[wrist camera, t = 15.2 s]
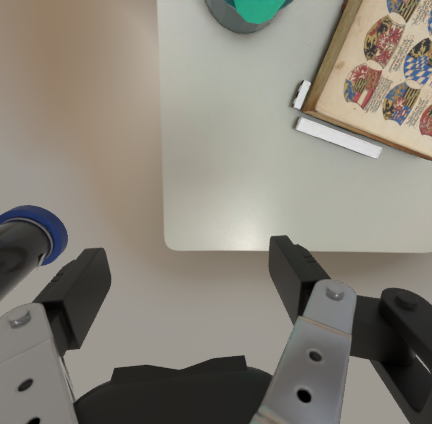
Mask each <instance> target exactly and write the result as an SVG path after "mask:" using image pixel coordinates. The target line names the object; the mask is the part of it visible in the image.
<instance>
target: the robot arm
mask: <svg viewBox="0 0 432 424" xmlns="http://www.w3.org/2000/svg"><path fill="white" fill-rule="evenodd" d="M54 245H55V242H54V238H53V235H52V233H51V232H50V230H49V229H48V228H47V227H46V226H45V225H44V224H42V223H41V222H39V221H37V220H35V219H32V218H29V217H13V218H11V219H8V220H7V221H5V222H3V223H2V224H1V225H0V301H2V300H3V299H4V297H6V296H7V295H8V294H9V293H10V292H11V291H12V290H13V289H14V288H15V287H16V286H17V285H18V284H19V283H20V282H22V281H23V280H24V279H25V278H26V277H27V276H28V275H29V274H30V273H31V272H32V271H33V270H34V269H35V268H36V267H37V266H38V267H37V269H38V268H39V267H40V266H41V264H42V262H43V261H44V260H45V259H46V258H48V257H49V256H50V255H51V253H52V252H53V250H54ZM269 272H270V276H271V278H272V280H273V282H274V284H275V287H276V289H277V291H278V293H279V295H280V297H281V300H282V302H283V304H284V306H285V308H286V310H287V312H288V314H289V317H290V319H291V321H292V323H293V325H294V327H293V330H292V332H291V335H290V337H289V340H288V342H287V344H286V347H285V349H284V351H283V354H282V356H281V359H280V361H279V363H278V366H277V368H276V370H275V373H274V375H273V376H272V375H270V374H269V373H267V372H264V371H262V370H260V369H256V368H253V367H247V365H246V361H245V356H244V355H243V356H232V357H222V358H213V359H210V360H207V361H204V362H202V363H199V364H196V365H194V366H190V367H187V368H185V369H181V370H176V369H170V368H164V367H157V366H151V365H140V366H130V367H120V368H114V371H113V375H112V378H111V380H110V381H108V382H105V383H103V384H101V385H99V386H97V387H95V388H94V389H92V390H90V391H89V392H87V393H86V394H84V395H83V396H81V397H80V398H79V399H78V400H77V397H76V394H75V391H74V388H73V384H72V382H71V378H70V376H69V372H68V369H67V366H66V363H65V360H64V358H63V356H64V354H65V352H66V351H67V350H74V349H80V347H81V345H82V343H83V341H84V339H85V337H86V335H87V333H88V331H89V329H90V327H91V325H92V323H93V321H94V319H95V317H96V315H97V313H98V311H99V309H100V307H101V305H102V303H103V301H104V299H105V297H106V295H107V293H108V291H109V289H110V286H111V273H110V269H109V265H108V261H107V256H106V252H105V250H104V248H89V249H85V250H84V251H83V252H82V253H81V254H80V255H79V257H78V258H77V259H76V260H73V261H71V262H70V263H68V264H67V265H65V266H64V267H62V269H61V270H60V271H59V272H58V273H57V274H56V276H55V277H54V278H53V279H52V280H51V282H50V283H48V285H47V286H46V287H45V288H44V289H43V290H42V291H41V293H40V294H39V295H38V296H37V297H36V298H35V300H34V301H33V302H32V303H29V304H24V305H21V306H18V307H16V308H14V309H12V310H10V311H8V312H7V313H5V314H4V315H3V316H1V317H0V424H340V417H341V411H342V404H343V397H344V390H345V383H346V376H347V369H348V362H349V356H355V357H359V358H364V359H369V360H370V362H371V363H372V365H373V367H374V368H375V370H376V371H377V373H378V374H379V376H380V377H381V379H382V381H383V382H384V384H385V385H386V387H387V388H388V390H389V391H390V393H391V394H392V396H393V398H394V399H395V401H396V402H397V404H398V405H399V407H400V408H401V410H402V412H403V413H404V415H405V416H406V418H407V420H408V421H409V423H410V424H432V305H431V304H430V303H429V302H427V301H426V300H425V299H424V298H422V297H420V296H419V295H417V294H415V293H413V292H411V291H408V290H405V289H400V288H387V289H385V290H383V291H382V294H381V298H380V299H379V298H372V297H364V296H359V295H356V293H355V291H354V290H353V289H352V288H351V287H350V286H348V285H347V284H345V283H343V282H340V281H337V280H332V279H331V278H330V277H329V276H328V274H327V273H326V272H325V271H324V269H323V268H322V267H321V266H320V265H319V264H318V263H317V261H316V260H315V259H314V257H312V255H311V254H310V253H309V251H308V250H307V249H305V248H304V247H302V246H300V245H299V244H297V245H294V244H293V243H292V241H291V240H290V239H289V238H288V236H287V235H283V236H271V238H270V246H269ZM416 354H417V356H418V357H419V358H420V359H421V360H422V361H423V362H424V364H425V365H426V366H427V368H428V369H429V371H430V373H431V374H430V373H429V372H428V370H427V369H426V368H425V367H424V366H423V365H422V363H421V362H420V361H419V360H418V358H417V357H416Z"/></svg>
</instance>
